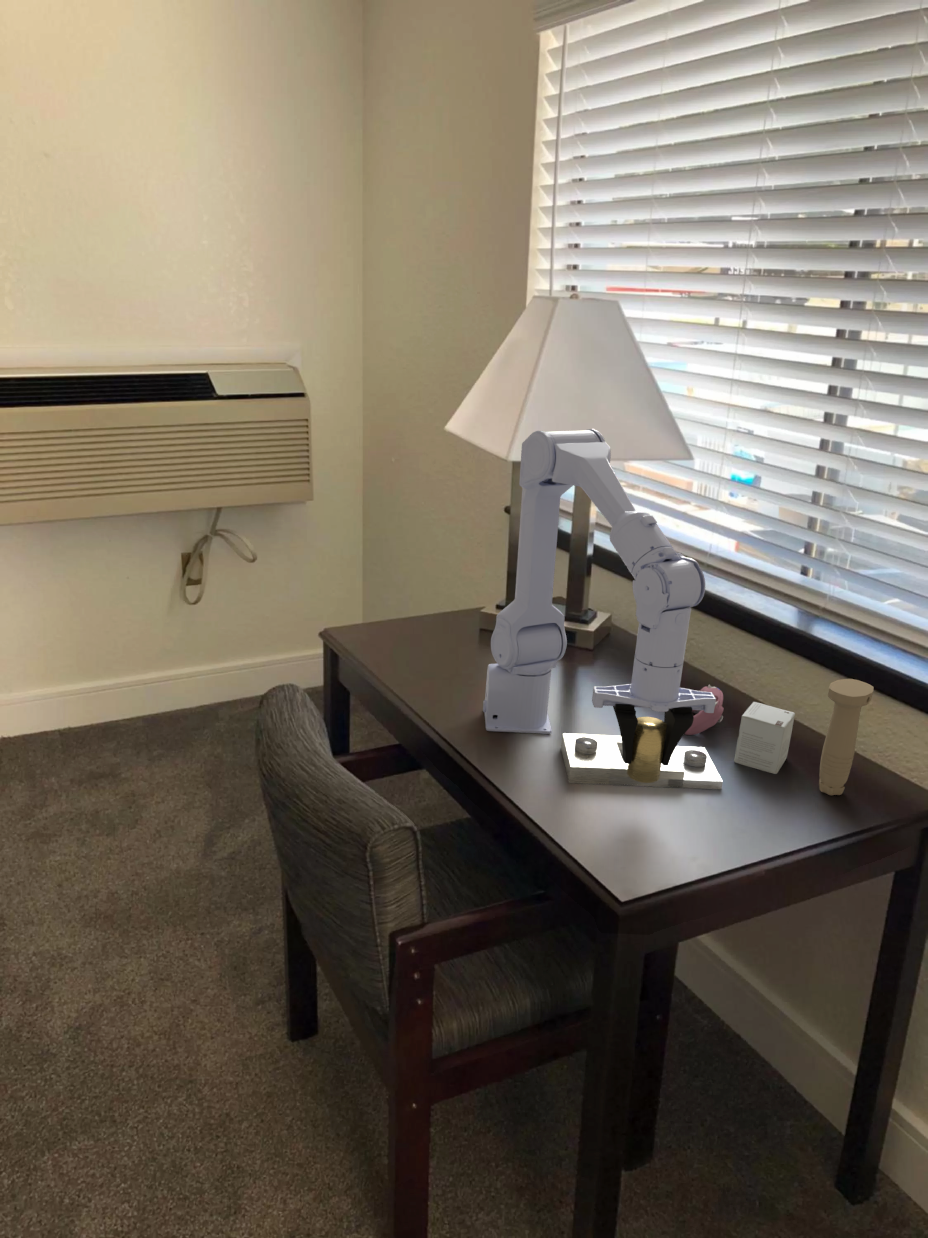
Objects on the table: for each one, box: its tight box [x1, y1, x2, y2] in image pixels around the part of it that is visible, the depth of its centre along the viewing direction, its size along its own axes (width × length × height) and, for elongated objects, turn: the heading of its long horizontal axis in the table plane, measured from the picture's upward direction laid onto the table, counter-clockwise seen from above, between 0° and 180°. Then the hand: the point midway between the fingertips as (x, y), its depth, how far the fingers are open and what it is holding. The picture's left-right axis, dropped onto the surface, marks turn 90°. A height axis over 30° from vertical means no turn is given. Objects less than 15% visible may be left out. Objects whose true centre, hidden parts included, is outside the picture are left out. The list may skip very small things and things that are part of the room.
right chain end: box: [609, 745, 723, 790], centre depth 135 cm, size 15×10×2 cm, turn 91°
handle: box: [818, 678, 874, 796], centre depth 130 cm, size 5×6×15 cm
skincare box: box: [733, 701, 796, 775], centre depth 138 cm, size 6×6×7 cm
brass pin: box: [627, 716, 667, 783], centre depth 122 cm, size 4×4×7 cm
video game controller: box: [684, 684, 724, 736], centre depth 149 cm, size 10×5×7 cm, turn 169°
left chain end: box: [560, 732, 685, 785], centre depth 135 cm, size 15×10×4 cm, turn 91°
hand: (645, 760), depth 123 cm, fingers closed on brass pin, 4 cm apart
